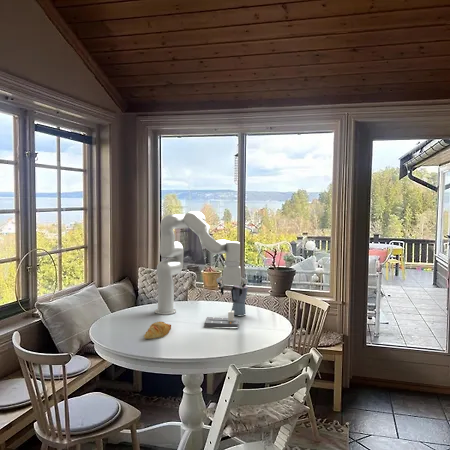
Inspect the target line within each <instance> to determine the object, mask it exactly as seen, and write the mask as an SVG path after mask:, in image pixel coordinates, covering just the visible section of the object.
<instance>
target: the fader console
mask: <svg viewBox="0 0 450 450" xmlns="http://www.w3.org/2000/svg"><path fill="white" fill-rule="evenodd" d="M239 321H240V318H235V317H234V322H233V321H228V317H216V316H215V317H214V316H213V317H212V316H206V318H205V320H204V323H203V324H204V325H203V327H204V328H210V327H238V328H239V324H238V323H239Z"/></svg>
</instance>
